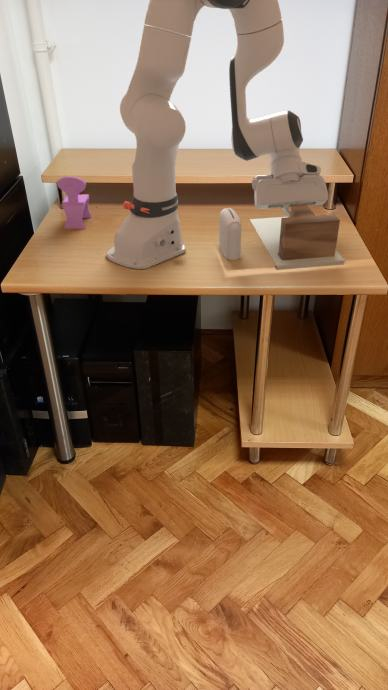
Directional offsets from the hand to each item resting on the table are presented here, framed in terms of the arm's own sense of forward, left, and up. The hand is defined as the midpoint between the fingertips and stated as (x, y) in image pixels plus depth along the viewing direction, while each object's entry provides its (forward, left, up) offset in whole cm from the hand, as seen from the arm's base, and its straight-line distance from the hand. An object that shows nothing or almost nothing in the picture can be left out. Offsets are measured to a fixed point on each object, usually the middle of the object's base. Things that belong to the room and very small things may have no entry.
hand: (294, 220), depth 158 cm
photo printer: (-18, +9, -6) cm, 21 cm away
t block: (-5, -5, -5) cm, 9 cm away
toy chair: (-26, +58, -6) cm, 64 cm away
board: (-1, -1, -6) cm, 6 cm away
